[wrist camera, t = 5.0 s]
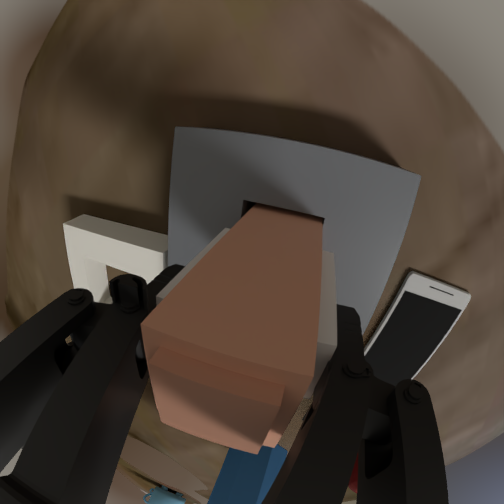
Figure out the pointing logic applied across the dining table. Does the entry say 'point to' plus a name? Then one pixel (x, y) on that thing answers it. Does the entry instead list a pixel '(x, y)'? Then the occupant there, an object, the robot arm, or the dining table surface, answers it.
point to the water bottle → (247, 475)
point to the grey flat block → (292, 201)
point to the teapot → (164, 497)
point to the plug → (240, 332)
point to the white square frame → (111, 253)
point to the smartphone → (414, 327)
